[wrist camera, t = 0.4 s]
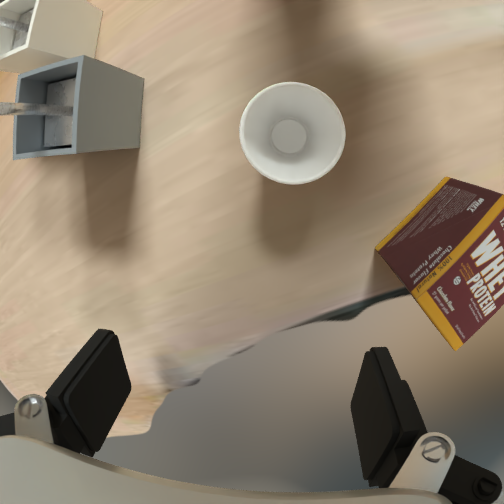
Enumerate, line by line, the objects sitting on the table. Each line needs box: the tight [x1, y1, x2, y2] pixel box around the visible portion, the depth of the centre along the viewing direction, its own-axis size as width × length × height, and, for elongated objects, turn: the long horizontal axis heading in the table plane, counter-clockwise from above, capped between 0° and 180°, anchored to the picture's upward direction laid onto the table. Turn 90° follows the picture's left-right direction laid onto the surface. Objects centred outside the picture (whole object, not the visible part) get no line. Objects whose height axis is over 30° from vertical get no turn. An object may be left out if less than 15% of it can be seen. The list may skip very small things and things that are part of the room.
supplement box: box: [375, 177, 504, 351], centre depth 32 cm, size 10×15×16 cm
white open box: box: [0, 0, 103, 74], centre depth 26 cm, size 10×10×15 cm
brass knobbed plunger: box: [0, 78, 76, 147], centre depth 19 cm, size 8×8×19 cm
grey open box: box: [13, 55, 144, 160], centre depth 30 cm, size 10×10×15 cm
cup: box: [239, 82, 346, 185], centre depth 32 cm, size 10×10×11 cm
